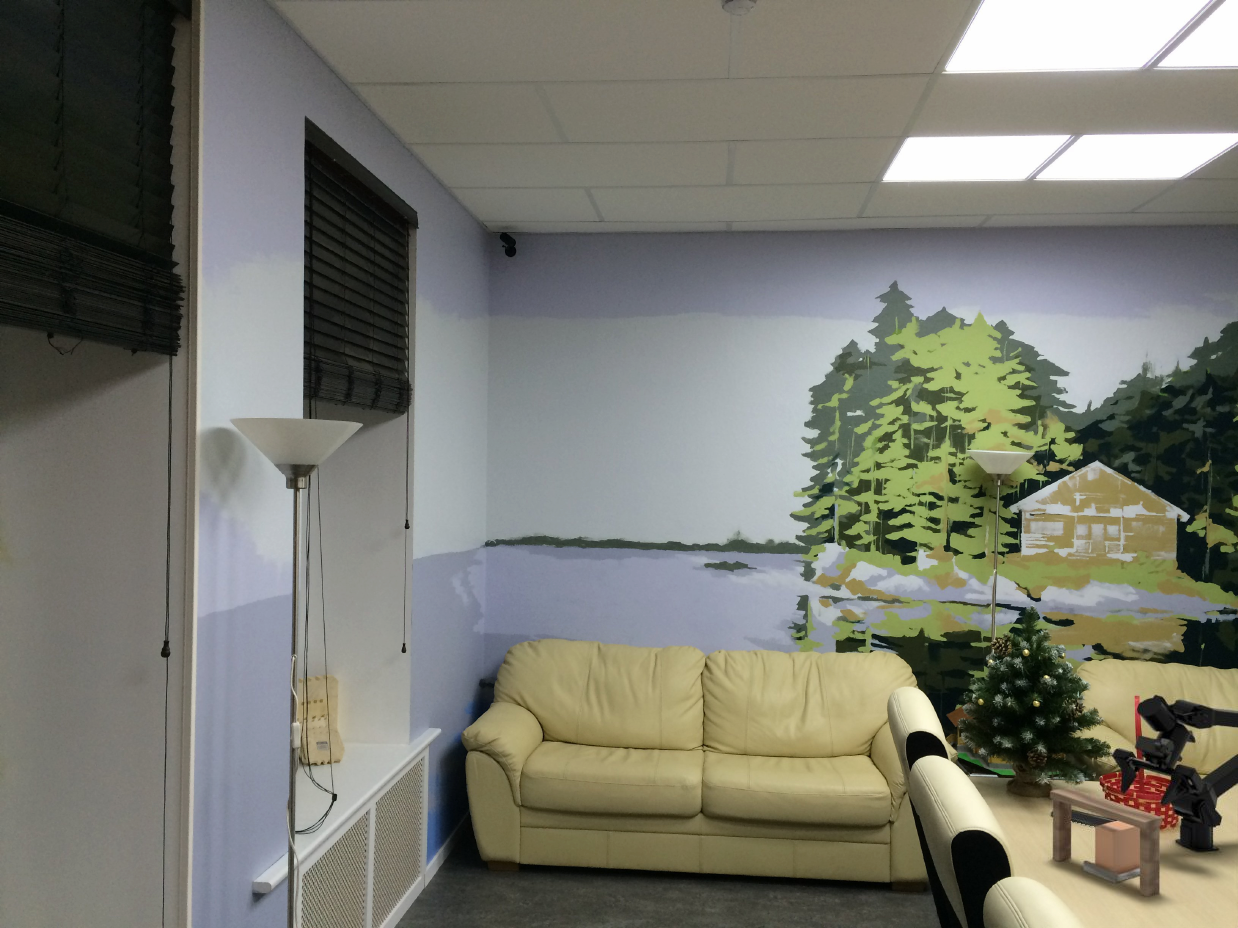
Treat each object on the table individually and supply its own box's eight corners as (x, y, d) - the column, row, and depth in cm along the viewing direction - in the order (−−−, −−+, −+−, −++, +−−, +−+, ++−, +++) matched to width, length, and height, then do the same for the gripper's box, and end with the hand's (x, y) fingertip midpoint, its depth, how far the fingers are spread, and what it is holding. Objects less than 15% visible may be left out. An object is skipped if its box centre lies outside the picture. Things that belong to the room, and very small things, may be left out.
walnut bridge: (1087, 848, 210) (1087, 782, 210) (1182, 884, 191) (1182, 811, 191) (1049, 859, 203) (1050, 790, 203) (1144, 897, 184) (1144, 822, 185)
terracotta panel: (1127, 862, 203) (1127, 817, 203) (1144, 868, 199) (1144, 823, 199) (1095, 871, 197) (1095, 826, 197) (1112, 878, 193) (1112, 832, 194)
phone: (1058, 806, 237) (1121, 820, 227) (1058, 810, 237) (1121, 825, 227) (1049, 813, 231) (1113, 828, 221) (1049, 817, 231) (1113, 833, 221)
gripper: (1116, 714, 217) (1088, 765, 211) (1196, 732, 200) (1168, 789, 195) (1135, 742, 220) (1108, 794, 215) (1216, 763, 204) (1189, 819, 198)
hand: (1141, 798), depth 205 cm, fingers open, 9 cm apart
